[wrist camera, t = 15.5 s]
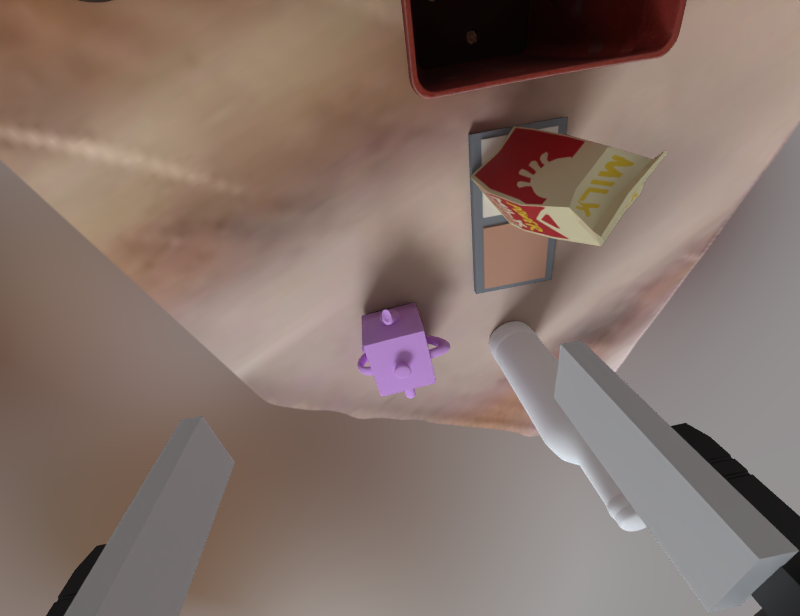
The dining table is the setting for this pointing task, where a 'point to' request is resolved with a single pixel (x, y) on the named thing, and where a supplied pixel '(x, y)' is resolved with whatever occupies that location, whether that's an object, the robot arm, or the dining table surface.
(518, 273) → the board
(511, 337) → the bottle
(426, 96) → the plant pot
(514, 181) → the milk carton
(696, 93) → the dining table surface
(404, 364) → the purple boxy tea kettle
